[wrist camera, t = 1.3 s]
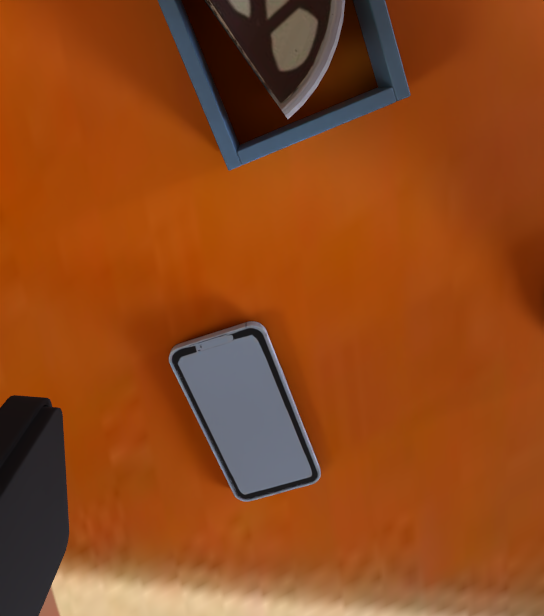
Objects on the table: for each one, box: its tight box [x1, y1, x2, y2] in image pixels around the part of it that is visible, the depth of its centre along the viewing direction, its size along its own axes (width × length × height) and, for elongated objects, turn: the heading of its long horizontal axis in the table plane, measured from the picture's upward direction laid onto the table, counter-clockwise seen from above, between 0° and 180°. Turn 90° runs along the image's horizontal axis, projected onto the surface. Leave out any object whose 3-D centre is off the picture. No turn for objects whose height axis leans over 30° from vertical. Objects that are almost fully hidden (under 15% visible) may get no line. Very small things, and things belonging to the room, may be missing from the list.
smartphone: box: [169, 321, 321, 501], centre depth 40 cm, size 7×1×15 cm
